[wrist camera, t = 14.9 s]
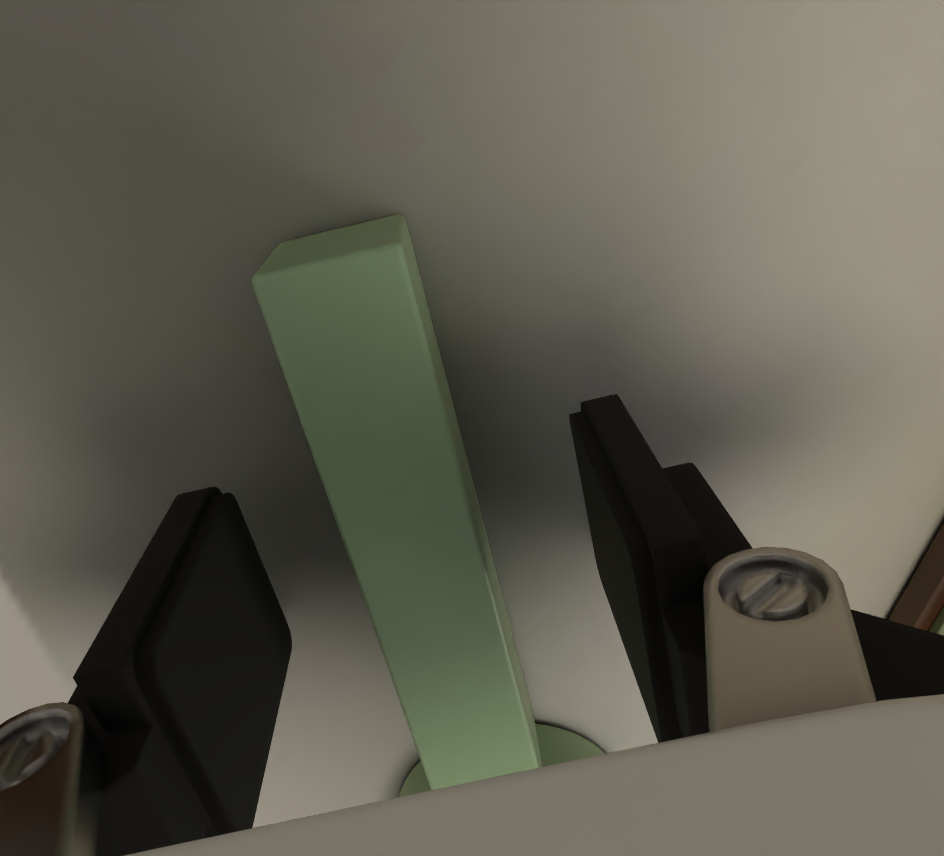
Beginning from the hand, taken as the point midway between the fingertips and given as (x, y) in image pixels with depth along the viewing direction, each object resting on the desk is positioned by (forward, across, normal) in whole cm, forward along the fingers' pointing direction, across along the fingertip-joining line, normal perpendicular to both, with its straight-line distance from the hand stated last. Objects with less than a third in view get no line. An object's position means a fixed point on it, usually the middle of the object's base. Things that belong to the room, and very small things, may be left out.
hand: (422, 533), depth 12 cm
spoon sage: (+1, 0, +2) cm, 3 cm away
